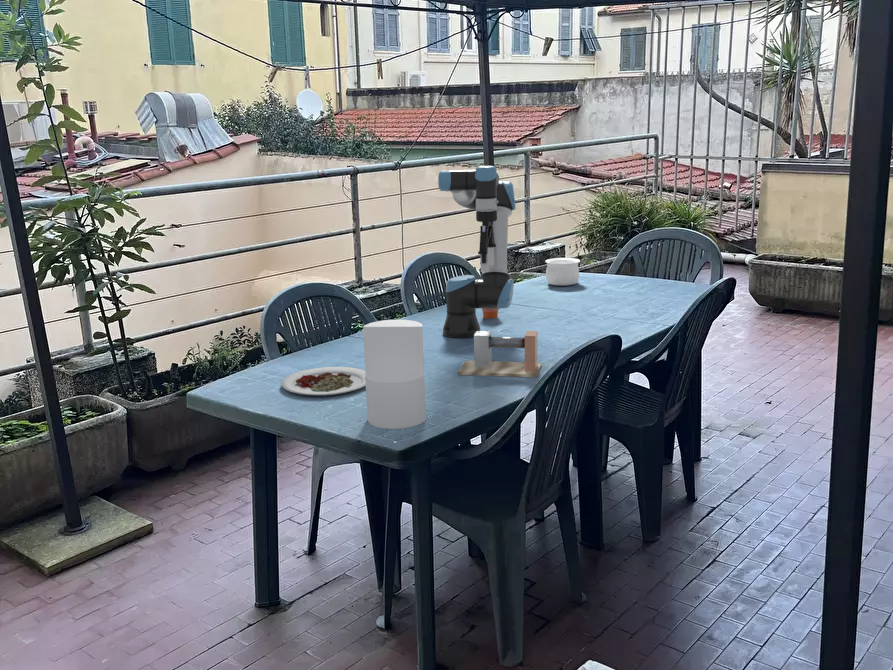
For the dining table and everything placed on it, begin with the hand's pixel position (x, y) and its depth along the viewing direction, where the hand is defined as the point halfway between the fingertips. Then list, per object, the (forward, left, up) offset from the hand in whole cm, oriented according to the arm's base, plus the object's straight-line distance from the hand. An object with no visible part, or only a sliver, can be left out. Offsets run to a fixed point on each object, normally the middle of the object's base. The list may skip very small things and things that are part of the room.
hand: (487, 268), depth 316 cm
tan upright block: (+19, -23, -31) cm, 43 cm away
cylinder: (-15, -75, -32) cm, 83 cm away
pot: (+17, +128, -32) cm, 133 cm away
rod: (+10, -23, -23) cm, 34 cm away
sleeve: (+2, -23, -31) cm, 39 cm away
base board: (+8, -23, -31) cm, 40 cm away
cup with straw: (-8, +54, -32) cm, 63 cm away
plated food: (-47, -46, -32) cm, 73 cm away
